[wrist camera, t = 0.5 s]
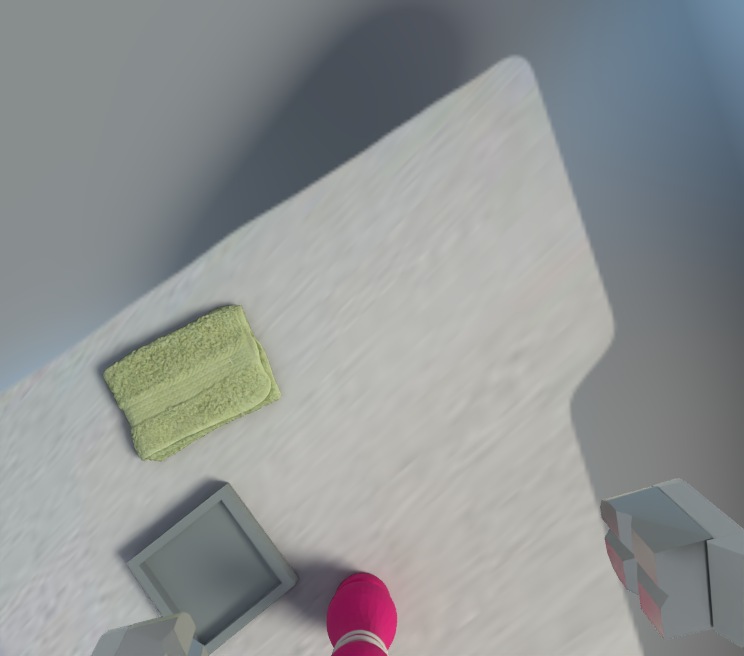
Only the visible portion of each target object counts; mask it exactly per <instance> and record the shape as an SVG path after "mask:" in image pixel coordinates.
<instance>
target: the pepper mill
mask: <svg viewBox="0 0 744 656" xmlns="http://www.w3.org/2000/svg"><path fill="white" fill-rule="evenodd" d="M396 626H397V613H396V608H395V605H394V603H393V601H392V599H391V597H390V594H389V591H388V589H387V587H386V585H385V584H384V583H383V582H382V581H381V580H380V579H379V578H377V577H376V576H374V575H371V574H367V573H359V574H354V575H351V576H350V577H348V578H346V579H345V580H344V581H343V582H342V583H341V585H340V586H339V587H338V589H337V592H336V594H335V596H334V597H333V599H332V601H331V602H330V605H329V608H328V612H327V632H328V636H329V639H330V641H331V643H332V645H333V647H334V649H333V652H332V655H331V656H389V655H388V651H387V650H388V649H389V647H390V645H391V643H392V641H393V639H394V636H395V633H396Z"/></svg>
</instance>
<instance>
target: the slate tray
mask: <svg viewBox="0 0 744 656" xmlns="http://www.w3.org/2000/svg"><path fill="white" fill-rule="evenodd" d="M126 564H127V566H128V567H129V569H130V570H131V572H132V573H133V574H134V576H135V577H136V579H137V580H138V582H139V583H140V584H141V586H142V587H143V589H144V590H145V592H146V593H147V594H148V596H149V597H150V599H151V600H152V602H153V603H154V604H155V606H156V607H157V609H158V610H159V612H160V613H161V615H162V616H163V617H164V616H168V615H172V614H176V613H180V612H185V613H189V614H190V616H191V618H192V620H193V622H194V624H195V626H196V628H195V632H194V635H193V639H194V640H196V641H198V642H199V643H201V644H203V645H204V647H205V649H206V651H207V654H208V656H209V655H210V654H211V653H212V652H214V651H215V650H216V649H217V648H218V647H220V646H221V645H222V644H223V643H225V642H226V641H227V640H228V639H230V638H231V637H232V636H233V635H234V634H236V633H237V632H238V631H239V630H241V629H242V628H243V627H244V626H245V625H247V624H248V623H249V622H250V621H252V620H253V619H254V618H255V617H256V616H258V615H259V614H260V613H261V612H263V611H264V610H265V609H266V608H267V607H269V606H270V605H271V604H272V603H274V602H275V601H276V600H277V599H278V598H280V597H281V596H282V595H283V594H285V593H286V592H287V591H288V590H289V589H291V588H292V587H293V586H294V585H295V584H296V582H297V579H298V576H297V575H296V573H295V572H294V571H293V569H292V568H291V567H290V565H289V564H288V563H287V561H286V560H285V558H284V557H283V556H282V554H281V553H280V552H279V550H278V549H277V548H276V546H275V545H274V543H273V542H272V541H271V539H270V538H269V537H268V535H267V534H266V533H265V531H264V530H263V528H262V527H261V526H260V524H259V523H258V522H257V520H256V519H255V518H254V516H253V515H252V514H251V512H250V511H249V509H248V508H247V507H246V505H245V504H244V503H243V501H242V500H241V499H240V497H239V496H238V494H237V493H236V492H235V490H234V489H233V488H232V486H231V485H230V484H229V483H228V484H226V485H225V486H223V487H222V488H221V489H220V490H218V491H217V492H216V493H215V494H213V495H212V496H211V497H209V498H208V499H207V500H206V501H204V502H203V503H202V504H201V505H199V506H198V507H197V508H196V509H194V510H193V511H192V512H190V513H189V514H188V515H187V516H185V517H184V518H183V519H182V520H180V521H179V522H178V523H177V524H175V525H174V526H173V527H172V528H170V529H169V530H168V531H166V532H165V533H164V534H163V535H161V536H160V537H159V538H158V539H156V540H155V541H154V542H153V543H151V544H150V545H149V546H147V547H146V548H145V549H144V550H142V551H141V552H140V553H139V554H137V555H136V556H135V557H134V558H132V559H131V560H130V561H128V562H127V563H126Z"/></svg>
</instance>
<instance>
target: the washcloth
mask: <svg viewBox="0 0 744 656" xmlns="http://www.w3.org/2000/svg"><path fill="white" fill-rule="evenodd" d="M103 377H104V379H105V381H106V383H107V385H108V386H109V389H110V390H111V392H112V393H114V398H115V399H116V402H117V405H118V407H119V408H120V409H122V410H123V411H124V413H125V416H126V417H127V420H128V422H129V423H130V426H131V428H132V429H131V431H130V432H131V435H132V437H131V438H132V439H133V443H134V448H135V450H136V451H137V454H138V456H139V457H140V458H141V460H142V461H145V460H155V461H162V460H165V458H166V457H169V456H170V455H173V454H176V453H177V452H178V451H180V449H182V448H185V447H186V446H187V445H188V444H190V443H191V442H192V441H195V440H197V439H198V438H201V437H203V436H205V434H208V433H210V432H211V431H212V430H214V429H216V428H218V427H219V426H222V425H223V424H227V423H228V422H230V421H233V420H234V419H236V418H239V417H240V418H241V417H242V416H244V415H246V414H249V413H252V412H253V411H254V410H258V409H260V408H261V407H262V406H264V405H268V404H270V403H272V402H273V401H276V400H278V399H279V398H280V397H281V396H282V395H281V393H280V391H279V389H278V387H277V384H276V382H275V379H274V377H273V374H272V371H271V368H270V364H269V362H268V359H267V357H266V354H265V351H264V349H263V348H262V346H261V345H260V343H259V341H258V340H257V339H256V338H255V337H254V335H253V332H252V330H251V328H250V326H249V323H248V321H247V319H246V317H245V313H244V311H243V308H242V306H241V305H238V306H236V305H233V306H226V307H218V308H217V309H216V310H213V311H210V313H209V314H207V315H206V316H203V317H201V318H198V320H197V321H193V322H192V323H191V324H188V325H187V326H185V327H182V328H180V329H178V330H176V331H173V332H172V333H170V334H167V335H166V336H164V337H160V338H158V339H157V340H155V341H154V342H151V344H148V345H146V346H142V347H140V348H138V350H137V351H136V350H134V351H132V353H131V354H130V355H127V356H126V357H124V358H122V359H121V360H120V361H119V362H115V363H114V365H112V366H110V367H108V368H107V369H106V370H105V371H104V374H103Z"/></svg>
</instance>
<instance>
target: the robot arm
mask: <svg viewBox="0 0 744 656" xmlns="http://www.w3.org/2000/svg"><path fill="white" fill-rule="evenodd" d="M600 509H601V516H602V519H603V520H604V522H605V523H606V524H607V525H608V527H609V528H610V529H609V530H608V532H607V534H606V536H605V543H606V548H607V553H608V556H609V558H610V561H611V564H612V566H613V569H614V570H615V572H616V574H617V576H618V578H619V579H620V581H621V582H622V583H623V585H624V586H625V588H626V589H627V590H629V591H631V592H633V593H635V594H637V595H639V596H640V604H641V609H642V611H643V612H644V613H645V615H646V616H647V617H648V619H649V620H650V621H651V623H652V624H653V625H654V627H655V628H656V630H657V631H658V632H659V634H660V635H661V636H662V638H663V639H664V640H667V639H671V638H676V637H680V636H684V635H688V634H693V633H696V632H701V631H705V630H709V629H714V632H716V633H718V634H719V635H721V636H723V637H725V638H726V639H728V640H730V641H732V642H733V643H735V644H737V645H738V646H740V647H742V648H743V649H744V529H743V528H741V527H740V526H739V525H738V524H736V523H735V522H734V521H733V520H732V519H730V518H729V517H728V516H727V515H726V514H724V513H723V512H722V511H721V510H719V509H718V508H717V507H716V506H714V505H713V504H712V503H711V502H710V501H708V500H707V499H706V498H705V497H703V496H702V495H701V494H700V493H699V492H697V491H696V490H695V489H694V488H692V487H691V486H690V485H689V484H688V483H686V482H685V481H684V480H681V479H678V478H676V479H673V480H669V481H666V482H663V483H659V484H656V485H653V486H651V487H647V488H644V489H641V490H637V491H633V492H629V493H626V494H622V495H618V496H615V497H611V498H607V499H604V500H601V506H600ZM195 628H196V626H195V624H194V622H193V620H192V618H191V616H190V614H189V613H185V612H180V613H176V614H172V615H168V616H164V617H160V618H156V619H152V620H147V621H143V622H139V623H135V624H133V625H129V626H124V627H120V628H116V629H112V630H108V631H107V632H106V633H105V634H103V635H102V636H101V637H100V639H99V641H98V643H97V645H96V647H95V649H94V651H93V653H92V655H91V656H208V654H207V651H206V649H205V647H204V645H203V644H201V643H199V642H198V641H196V640H194V639H193V635H194V632H195Z"/></svg>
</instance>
